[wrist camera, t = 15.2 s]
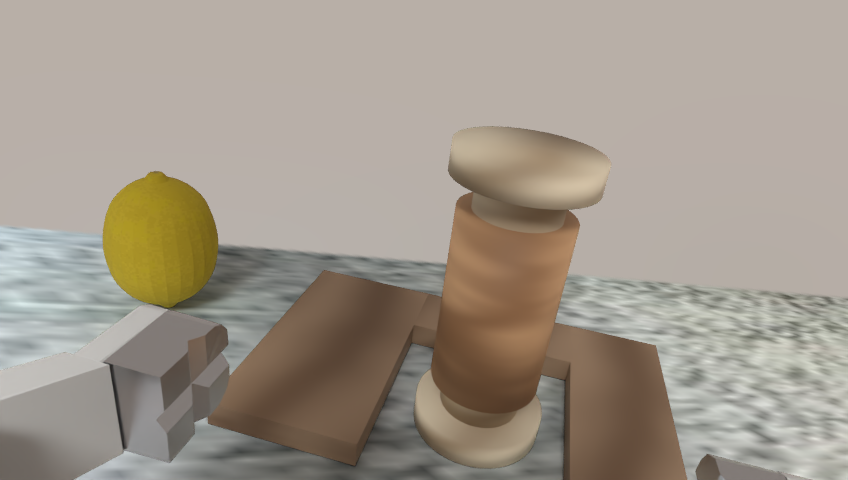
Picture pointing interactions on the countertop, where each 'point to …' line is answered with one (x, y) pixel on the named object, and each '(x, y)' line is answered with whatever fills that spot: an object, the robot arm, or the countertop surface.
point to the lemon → (160, 240)
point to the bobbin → (503, 288)
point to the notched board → (417, 323)
